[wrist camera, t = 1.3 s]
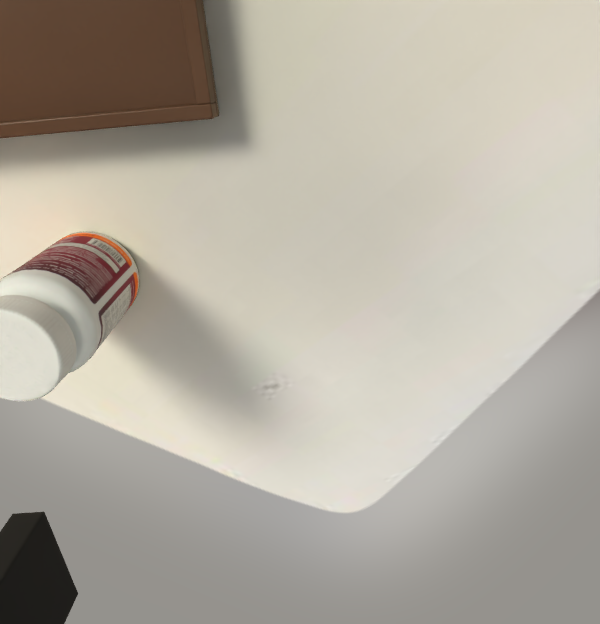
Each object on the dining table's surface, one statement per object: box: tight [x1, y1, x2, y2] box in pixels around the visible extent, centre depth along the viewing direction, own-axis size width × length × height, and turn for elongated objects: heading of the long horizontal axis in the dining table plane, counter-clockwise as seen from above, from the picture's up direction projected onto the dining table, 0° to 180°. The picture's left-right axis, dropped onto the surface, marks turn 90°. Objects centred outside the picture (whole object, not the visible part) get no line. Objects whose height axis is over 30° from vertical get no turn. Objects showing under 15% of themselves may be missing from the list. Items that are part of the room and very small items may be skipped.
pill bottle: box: [0, 232, 139, 401], centre depth 30 cm, size 6×6×11 cm
